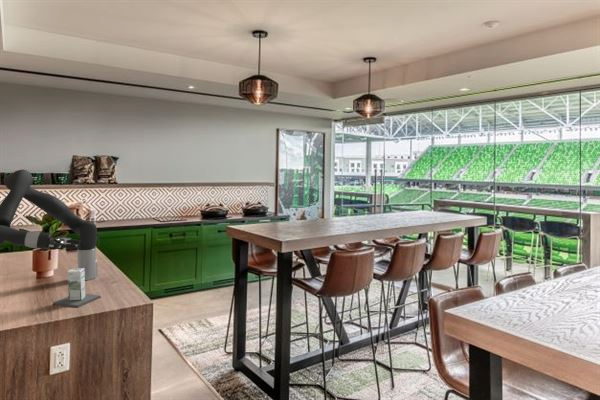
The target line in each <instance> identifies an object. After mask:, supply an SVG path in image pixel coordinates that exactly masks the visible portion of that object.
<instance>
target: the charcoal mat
mask: <svg viewBox="0 0 600 400" xmlns="http://www.w3.org/2000/svg"><path fill="white" fill-rule="evenodd" d="M101 298H102V297H101V294H99V295H97V294H91V293H85V297H84V298H83V299H82V300H76V301H69V295H68V296H65V297H64V298H61V299H58V300H55V301H54V302H52V304H53V305H56V306H64V307H69V308H70V307H71V308H72V307H73V308H80V307H82V306H84V305H86V304H89V303H93V302H94V301H96V300H98V299H101Z"/></svg>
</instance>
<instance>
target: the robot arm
mask: <svg viewBox="0 0 600 400" xmlns="http://www.w3.org/2000/svg"><path fill="white" fill-rule="evenodd" d="M33 182H34V177H33V175H32V173H31V172H30V171H28V170H26V169H19V170H15V171H13V172H11V173H9V174H7V175H6V176H5V177H4V178H3V185H4V186H5V187H6V188H7V189H8V190H9V192H8V194H7V195H6V197H5V198H4V199H3V200H2V201H1V203H0V246H1V245H3V244H4V243H6V242H9V243H10V244H12V245H13V246H20V247H28V248H31V249H42V250H49V249H54V250H59V251H61V250H65V249H69V250H76V249H77V251H76V254H77V268H84V271H85V281H88V280H89V281H90V280H95V279H96V278H97V277H99V274H98V273H99V272H98V271H99V269H98V268H99V267H98V260H97V254H96V251H97V249H96V245H97V242H98V229H97V225H96V224H95V222H92V221H89V220H85V219H83V218H81V217H79V216H78V215H76V214H75V213H74V212H73V211H72V209H70V208H69V206H68V205H67V204H66V203H65V202H64V201H62V200H61V199H59V197H56V196H54V195H52V194H49V193H45V192H44V191H43V192H42V191H40V190H37V189H34V188H33V187H31V186H32V184H33ZM23 198H24V199H25V200H27V201H28V202H30V203H31V204H33V205H34V206H36V207H37V208H39V209H40V210H41V211H43V212H44V213H46V214H47V215H49V216H51V217H52V218H54V219H55V220H57V221H59V222H60V223H62V224H64V225H65V226H67V227H68V228H69V229H70V230H71V232H73V233H74V234H76V235H77V236H79V239H72V238H71V237H70V236H61V235H57V236H56V237H53V234H52V233H50V232H43V231H41V232H40V231H36V230H35V231H32V230H31V231H30V230H22V229H21V230H20V229H16V228H13V227H11V226H12V222H13V220H14V219H15V218H14V217H15V215H16V212H17V210H18V208H19V206H20V204H21V202H22V200H23Z"/></svg>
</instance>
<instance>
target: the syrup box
mask: <svg viewBox="0 0 600 400" xmlns="http://www.w3.org/2000/svg"><path fill="white" fill-rule="evenodd" d="M67 285H68V286H67V289H68V290H67V291H68V296H69V301H76V300H82V299H83V298H84V297H85V294H86V280H85V271H84V268H78V267H77V268H70V269H69V270H68V271H67Z"/></svg>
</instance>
